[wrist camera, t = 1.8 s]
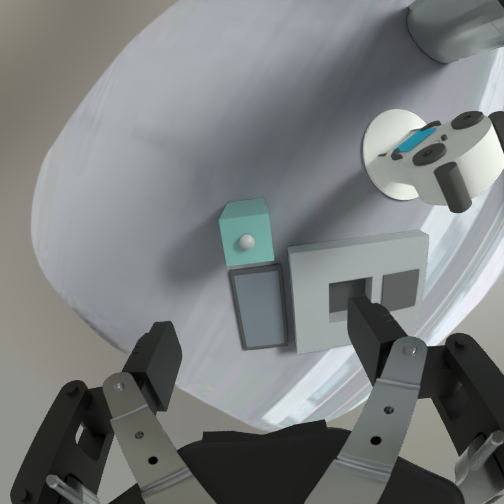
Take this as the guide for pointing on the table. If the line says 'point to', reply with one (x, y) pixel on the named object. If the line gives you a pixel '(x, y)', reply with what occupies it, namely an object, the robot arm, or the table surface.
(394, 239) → the plate
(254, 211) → the teal knobbed block
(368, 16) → the table surface
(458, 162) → the white curved stand
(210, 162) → the table surface
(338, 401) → the table surface
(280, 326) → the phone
